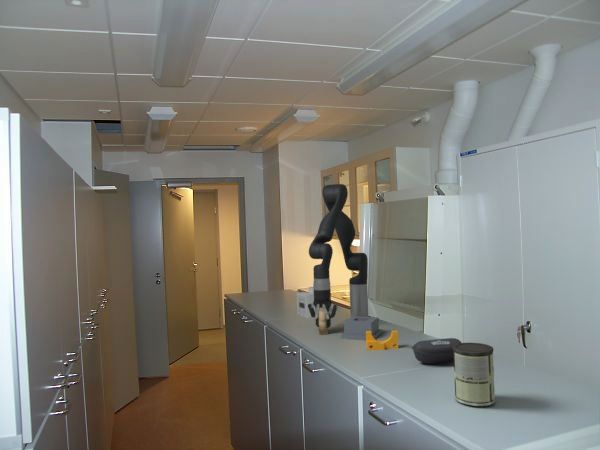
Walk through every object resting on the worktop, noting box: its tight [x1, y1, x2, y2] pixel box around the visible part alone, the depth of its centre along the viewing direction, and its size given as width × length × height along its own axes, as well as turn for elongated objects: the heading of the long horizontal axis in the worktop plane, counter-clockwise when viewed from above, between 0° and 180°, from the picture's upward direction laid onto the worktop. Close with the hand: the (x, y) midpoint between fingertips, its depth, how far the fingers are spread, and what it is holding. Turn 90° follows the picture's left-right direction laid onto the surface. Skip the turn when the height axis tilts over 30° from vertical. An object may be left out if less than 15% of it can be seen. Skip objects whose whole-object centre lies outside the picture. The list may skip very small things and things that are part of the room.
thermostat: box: [296, 286, 316, 319], centre depth 260 cm, size 12×14×15 cm
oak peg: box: [318, 308, 329, 336], centre depth 214 cm, size 4×4×12 cm
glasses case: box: [411, 337, 462, 365], centre depth 166 cm, size 18×10×8 cm, turn 103°
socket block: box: [340, 316, 383, 341], centre depth 209 cm, size 15×14×7 cm
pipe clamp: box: [365, 330, 399, 351], centre depth 186 cm, size 12×4×6 cm, turn 87°
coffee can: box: [453, 342, 496, 407], centre depth 130 cm, size 10×10×14 cm
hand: (323, 326), depth 214 cm, fingers closed on oak peg, 4 cm apart
